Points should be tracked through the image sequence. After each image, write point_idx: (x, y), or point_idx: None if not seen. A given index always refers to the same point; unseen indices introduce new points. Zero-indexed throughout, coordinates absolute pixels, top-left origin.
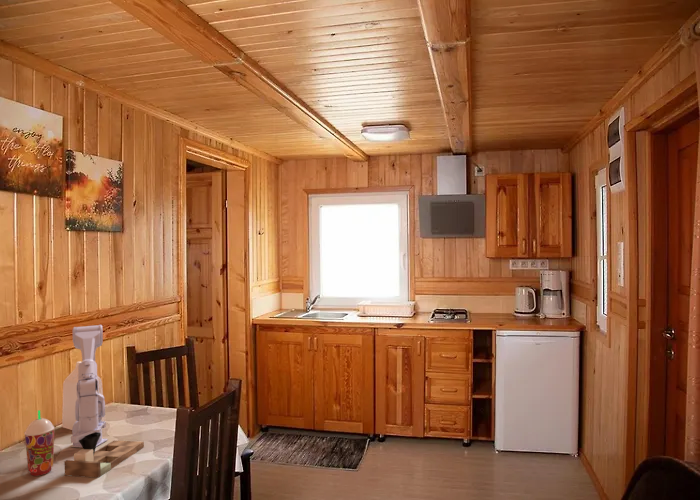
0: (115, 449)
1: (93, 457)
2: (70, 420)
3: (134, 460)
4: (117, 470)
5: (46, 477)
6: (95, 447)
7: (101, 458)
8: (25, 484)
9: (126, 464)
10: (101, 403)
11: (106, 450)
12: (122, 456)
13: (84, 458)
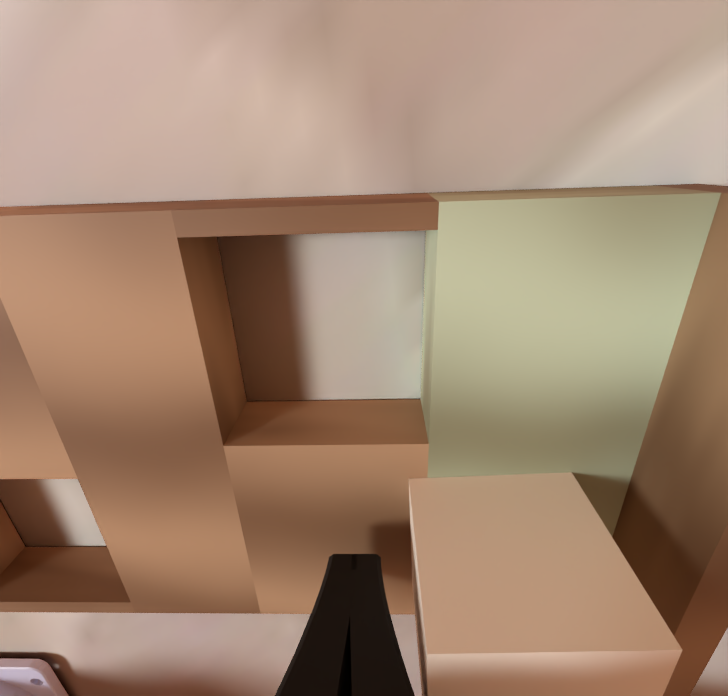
0: (3, 459)
1: (415, 522)
2: None
3: (58, 12)
4: (458, 44)
5: None
6: (299, 665)
7: (300, 450)
8: (717, 685)
9: (228, 50)
10: None
11: (28, 554)
12: (121, 211)
13: (633, 583)
